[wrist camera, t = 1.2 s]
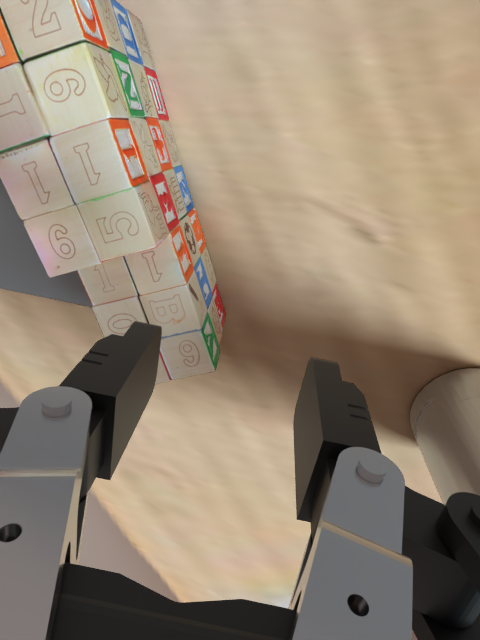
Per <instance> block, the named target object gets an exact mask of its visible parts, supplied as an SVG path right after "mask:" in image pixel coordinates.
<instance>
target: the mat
mask: <svg viewBox="0 0 480 640" xmlns="http://www.w3.org/2000/svg"><path fill="white" fill-rule="evenodd" d="M0 288H1V289H6V290H11V291H16V292H21V293H25V294H30V295H35V296H40V297H45V298H50V299H55V300H60V301H65V302H70V303H74V304H79V305H84V306H89V307H92V304H91V302H90V299H89V297H88V295H87V292H86V290H85V288H84V285H83V283H82V281H81V279H80V276H79V274H78V272H77V270H76V271H72V272H69V273H65V274H62V275H58V276H54V277H51V278H50V277H49V276H48V274H47V272H46V270H45V268H44V266H43V264H42V262H41V260H40V258H39V256H38V254H37V252H36V249H35V247H34V245H33V243H32V241H31V239H30V237H29V235H28V233H27V231H26V229H25V227H24V221H23V220H22V219H21V218H20V217H19V215H18V214H17V212H16V210H15V207H14V205H13V203H12V201H11V199H10V197H9V195H8V193H7V191H6V189H5V187H4V185H3V183H2V181H1V179H0Z"/></svg>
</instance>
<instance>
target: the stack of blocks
mask: <svg viewBox="0 0 480 640" xmlns="http://www.w3.org/2000/svg"><path fill="white" fill-rule="evenodd" d="M0 179H1V181H2V183H3V185H4V187H5V189H6V191H7V193H8V195H9V197H10V199H11V201H12V203H13V205H14V207H15V210H16V212H17V214H18V215H19V217H20V218H21V219H22V220H23V221H24V227H25V229H26V231H27V233H28V235H29V237H30V239H31V241H32V243H33V245H34V247H35V249H36V252H37V254H38V256H39V258H40V260H41V262H42V264H43V266H44V268H45V270H46V272H47V274H48V276H49V277H50V278H51V277H54V276H58V275H62V274H65V273H69V272H72V271H76V270H77V272H78V274H79V276H80V279H81V281H82V283H83V285H84V288H85V290H86V292H87V295H88V297H89V299H90V302H91V304H92V310H93V312H94V314H95V317H96V319H97V321H98V324H99V326H100V328H101V331H102V333H103V335H104V337H107V336H109V335H111V334H115V335H120V336H124V334H125V333H126V332H127V330H128V329H129V328H130V326H131V325H132V324H133V322H134V321H138V322H143V323H148V324H153V325H158V326H161V328H162V335H161V344H160V353H159V361H158V369H157V377H156V382H155V384H158V383H163V382H168V381H170V380H172V379H179V378H184V377H190V376H194V375H199V374H204V373H209V372H214V371H215V370H216V367H217V363H218V358H219V354H220V347H219V346H220V342H221V337H222V333H223V326H224V322H225V317H226V313H225V310H224V307H223V304H222V301H221V297H220V294H219V291H218V288H217V284H216V277H215V274H214V270H213V267H212V264H211V260H210V257H209V254H208V250H207V247H206V243H205V239H204V236H203V233H202V229H201V226H200V222H199V219H198V215H197V212H196V209H195V207H194V206H193V202H192V198H191V195H190V192H189V188H188V185H187V181H186V178H185V174H184V171H183V168H182V166H181V162H180V158H179V155H178V152H177V148H176V145H175V141H174V138H173V135H172V131H171V128H170V125H169V117H168V114H167V110H166V107H165V103H164V100H163V96H162V93H161V89H160V86H159V82H158V79H157V75H156V72H155V68H154V64H153V61H152V57H151V54H150V50H149V47H148V43H147V40H146V36H145V33H144V29H143V26H142V23H141V21H140V19H138V18H137V17H136V16H134V15H133V14H132V13H131V12H130V11H129V10H127V9H125V8H124V7H123V6H121V5H120V4H119V3H118V2H116V1H115V0H0Z"/></svg>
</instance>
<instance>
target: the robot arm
mask: <svg viewBox="0 0 480 640" xmlns="http://www.w3.org/2000/svg"><path fill="white" fill-rule="evenodd" d="M161 335H162V328H161V326H158V325H153V324H148V323H143V322H138V321H134V322H133V324H132V325H131V326H130V328H129V329H128V330H127V332H126V333H125V334H124V336H120V335H115V334H111V335H109V336H107V337H105V338H103V339H101V340H99V341H97V342H96V343H95V345H94V346H93V347H92V348H91V349H90V350H89V353H87V354H86V355H85V356H84V357H83V359H82V361H80V362H79V363H78V364H77V366H76V367H75V368H74V369H73V370H72V371H71V373H70V374H69V375H68V376H67V377H66V378H65V379H64V381H63V382H62V383H61V384H60V385H59V386H56V387H49V388H44V389H41V390H38V391H36V392H33V393H32V394H30V395H29V396H27V397H26V398H25V399H24V400H23V401H22V403H21V405H20V407H17V408H0V640H412V629H413V631H414V633H415V635H416V637H417V639H418V640H480V368H466V369H460V370H455V371H452V372H449V373H446V374H444V375H442V376H440V377H438V378H436V379H434V380H433V381H431V382H430V383H429V384H427V385H426V386H425V387H424V388H423V389H422V390H421V391H420V393H419V394H418V395H417V397H416V398H415V400H414V402H413V404H412V407H411V411H410V424H411V428H412V432H413V434H414V436H415V439H416V441H417V443H418V446H419V448H420V450H421V453H422V455H423V457H424V460H425V463H426V465H427V467H428V470H429V472H430V474H431V477H432V479H433V481H434V484H435V486H436V488H437V491H438V493H439V495H440V498H441V500H442V503H443V504H442V503H439V502H437V501H435V500H433V499H430V498H428V497H426V496H424V495H421V494H419V493H417V492H415V491H413V490H411V489H410V488H408V487H406V486H405V480H404V477H403V474H402V472H401V471H400V469H399V468H398V467H397V466H396V465H395V464H394V463H393V462H392V461H391V460H390V459H389V458H387V457H386V456H384V455H382V454H381V450H380V447H379V444H378V441H377V437H376V434H375V431H374V427H373V424H372V421H371V417H370V414H369V411H368V410H367V409H368V407H367V404H366V401H365V397H364V395H363V394H362V393H361V392H360V391H359V389H358V388H357V387H356V386H355V385H354V384H353V383H348V382H344V381H342V378H341V374H340V370H339V365H338V363H337V362H333V361H328V360H323V359H318V358H313V357H311V358H310V360H309V362H308V365H307V369H306V372H305V376H304V379H303V383H302V386H301V390H300V393H299V397H298V400H297V404H296V408H295V414H294V453H295V481H296V509H297V520H302V521H307V522H311V534H310V537H309V540H308V543H307V545H306V549H305V552H304V556H303V559H302V563H301V566H300V569H299V573H298V576H297V580H296V583H295V587H294V590H293V594H292V597H291V601H290V604H289V608H288V609H287V608H282V607H277V606H272V605H268V604H263V603H258V602H253V601H249V600H244V599H236V600H220V601H204V602H187V603H179V602H174V601H172V600H170V599H168V598H166V597H164V596H162V595H160V594H158V593H156V592H154V591H153V590H151V589H149V588H147V587H145V586H143V585H141V584H139V583H137V582H135V581H133V580H131V579H129V578H127V577H125V576H123V575H121V574H119V573H114V572H109V571H105V570H100V569H95V568H90V567H85V566H80V565H78V563H79V557H80V550H81V543H82V536H83V529H84V522H85V516H86V509H87V502H88V491H89V489H90V487H91V486H92V484H93V482H94V480H95V478H96V477H98V478H102V479H107V480H110V479H111V477H112V475H113V473H114V471H115V469H116V467H117V465H118V463H119V460H120V458H121V456H122V454H123V452H124V450H125V448H126V446H127V444H128V442H129V440H130V438H131V436H132V434H133V432H134V430H135V428H136V426H137V424H138V422H139V419H140V417H141V415H142V413H143V411H144V409H145V407H146V405H147V403H148V401H149V399H150V397H151V395H152V392H153V389H154V386H155V382H156V377H157V369H158V361H159V353H160V344H161Z"/></svg>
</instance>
